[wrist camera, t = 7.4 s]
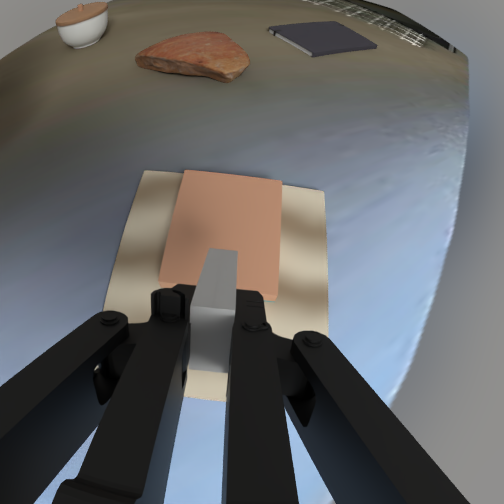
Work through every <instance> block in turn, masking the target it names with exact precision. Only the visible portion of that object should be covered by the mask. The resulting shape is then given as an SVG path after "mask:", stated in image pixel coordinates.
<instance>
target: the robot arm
mask: <svg viewBox="0 0 504 504" xmlns="http://www.w3.org/2000/svg"><path fill="white" fill-rule="evenodd" d="M237 259H238V251H234V250H224V249H214V248H209V250H208V253H207V256H206V259H205V262H204V265H203V268H202V271H201V274H200V277H199V280H198V283H197V286H196V285H187V284H177V285H175V286H174V287H172V288H161V289H157V290H155V291H153V292H152V293H151V316H150V318H149V320H148V322H144V323H128V317H127V316H126V315H125V314H123V313H121V312H118V311H114V310H111V311H110V310H107V311H103V312H99V313H97V314H95V315H94V316H93V317H91V318H90V319H88V320H87V321H86V322H84V323H83V324H82V325H80V326H79V327H78V328H76V329H75V330H73V331H72V332H71V333H69V334H68V335H67V336H65V337H64V338H63V339H61V340H60V341H59V342H57V343H56V344H55V345H53V346H52V347H51V348H49V349H48V350H47V351H46V352H44V353H43V354H42V355H40V356H39V357H38V358H36V359H35V360H34V361H32V362H31V363H30V364H29V365H27V366H26V367H25V368H23V369H22V370H21V371H20V372H18V373H17V374H16V375H15V376H13V377H12V378H11V379H9V380H8V381H7V382H6V383H4V384H3V385H2V386H1V387H0V504H34V502H35V501H36V500H37V499H38V497H39V496H40V495H41V494H42V493H43V491H44V490H45V489H46V488H47V486H48V485H49V484H50V483H51V482H52V480H53V479H54V478H55V477H56V476H57V474H58V473H59V472H60V471H61V469H62V468H63V467H64V466H65V465H66V463H67V462H68V461H69V460H70V459H71V457H72V456H73V455H74V454H75V453H76V451H77V450H78V449H79V448H80V446H81V445H82V444H83V443H84V442H85V440H86V439H87V438H88V437H89V436H90V434H91V433H92V432H93V431H94V430H95V428H96V427H97V426H98V425H99V426H98V428H97V430H96V432H95V435H94V437H93V439H92V442H91V444H90V447H89V449H88V451H87V454H86V456H85V459H84V461H83V463H82V466H81V468H80V471H79V473H78V475H77V477H76V478H74V479H66V480H65V481H63V482H62V483H61V484H60V486H59V488H58V490H57V492H56V494H55V497H54V499H53V502H52V504H164V498H165V492H166V486H167V480H168V475H169V469H170V463H171V458H172V453H173V447H174V442H175V437H176V432H177V426H178V421H179V416H180V411H181V406H182V401H183V397H184V392H185V387H186V382H187V367H188V363H189V369H191V370H200V371H209V372H218V373H228V380H227V390H226V414H225V434H224V455H223V478H222V502H221V504H299V501H298V494H297V487H296V481H295V474H294V467H293V461H292V454H291V448H290V441H289V434H288V428H287V421H286V415H285V409H286V411H287V413H288V415H289V417H290V419H291V421H292V423H293V425H294V426H295V428H296V430H297V432H298V434H299V436H300V438H301V440H302V442H303V444H304V446H305V448H306V449H307V451H308V453H309V455H310V457H311V459H312V461H313V463H314V464H315V466H316V468H317V470H318V472H319V474H320V476H321V477H322V479H323V481H324V483H325V485H326V487H327V488H328V490H329V492H330V494H331V496H332V497H333V499H334V501H335V503H336V504H470V503H469V502H468V501H467V500H466V499H465V497H464V496H463V495H462V494H461V493H460V491H459V490H458V489H457V488H456V487H455V485H454V484H453V483H452V482H451V481H450V480H449V478H448V477H447V476H446V475H445V474H444V473H443V471H442V470H441V469H440V468H439V467H438V465H437V464H436V463H435V462H434V461H433V459H431V457H430V456H429V455H428V454H427V453H426V451H425V450H424V449H423V448H422V447H421V445H420V444H419V443H418V442H417V441H416V440H415V438H414V437H413V436H412V435H411V434H410V432H409V431H408V430H407V429H406V428H405V427H404V425H403V424H402V423H401V422H400V421H399V420H398V418H397V417H396V416H395V415H394V414H393V412H392V411H391V410H390V409H389V408H388V407H387V405H386V404H385V403H384V402H383V401H382V400H381V398H380V397H379V396H378V395H377V394H376V393H375V391H374V390H373V389H372V388H371V387H370V385H369V384H368V383H367V382H366V381H365V380H364V378H363V377H362V376H361V375H360V374H359V373H358V371H357V370H356V369H355V368H354V367H353V366H352V364H351V363H350V362H349V361H348V360H347V359H346V357H345V356H344V355H343V354H342V353H341V352H340V350H339V349H338V348H337V347H336V346H335V345H334V343H333V342H332V341H331V340H330V339H329V338H328V337H327V336H326V335H324V334H321V333H319V332H317V331H311V330H310V331H300V332H298V333H296V334H295V335H294V337H293V340H292V339H288V338H284V337H281V336H278V335H276V334H274V333H273V332H272V327H271V325H270V324H269V323H268V322H267V319H266V313H265V306H264V299H263V296H262V295H261V294H260V293H259V292H258V291H253V290H243V289H236V283H237ZM97 365H98V368H97V369H96V370H95V368H96V367H97ZM284 407H285V409H284Z"/></svg>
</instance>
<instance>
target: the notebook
mask: <svg viewBox="0 0 504 504" xmlns="http://www.w3.org/2000/svg"><path fill="white" fill-rule="evenodd" d="M269 29H270V30H269V32H270V33H271V34H273V35H274V36H277V37H279V38H281V39H282V40H284V41H286V42H288V43H290V44H291V45H293V46H295V47H297V48H298V49H300V50H302V51H303V52H305V53H307V54H308V55H310V56H312V57H317V56H323V55H329V54H336V53H343V52H350V51H358V50H367V49H376V48H377V45H376V44H375V43H373V42H372V41H370V40H368V39H367V38H365V37H363V36H361V35H360V34H358V33H356V32H354V31H353V30H351V29H349V28H347V27H345V26H344V25H342V24H340V23H338V22H335V21H329V22H311V23H298V24H288V25H279V26H271V27H269Z"/></svg>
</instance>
